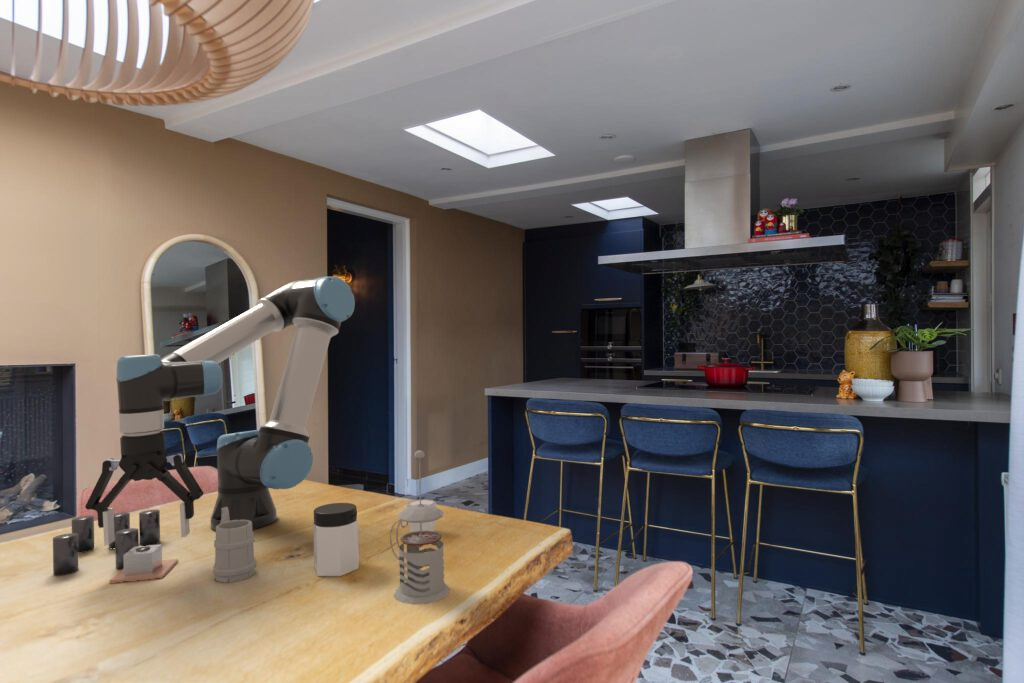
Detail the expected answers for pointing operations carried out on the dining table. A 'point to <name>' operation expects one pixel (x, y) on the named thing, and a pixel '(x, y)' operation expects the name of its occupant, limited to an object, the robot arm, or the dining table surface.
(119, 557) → the cylinder
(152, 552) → the nut
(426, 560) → the french press
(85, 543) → the cylinder
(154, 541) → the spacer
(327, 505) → the jar
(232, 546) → the mug
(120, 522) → the cylinder
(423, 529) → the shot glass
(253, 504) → the robot arm
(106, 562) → the dining table surface
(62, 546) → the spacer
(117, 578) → the coaster
